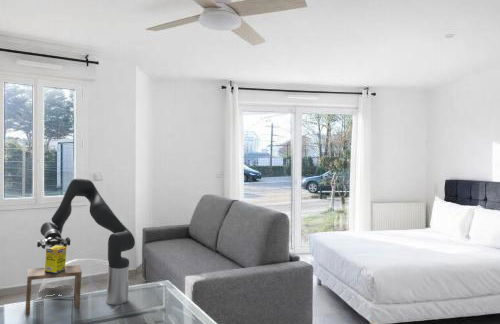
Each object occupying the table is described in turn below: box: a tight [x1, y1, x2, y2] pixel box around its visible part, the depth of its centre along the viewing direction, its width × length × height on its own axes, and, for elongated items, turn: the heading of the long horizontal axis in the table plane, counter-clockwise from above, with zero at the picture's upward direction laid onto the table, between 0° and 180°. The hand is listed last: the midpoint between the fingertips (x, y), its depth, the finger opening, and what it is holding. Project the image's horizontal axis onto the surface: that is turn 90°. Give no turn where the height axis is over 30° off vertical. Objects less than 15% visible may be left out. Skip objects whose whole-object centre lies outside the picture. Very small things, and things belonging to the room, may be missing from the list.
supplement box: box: [44, 245, 67, 274], centre depth 168 cm, size 6×6×11 cm
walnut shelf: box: [25, 264, 82, 316], centre depth 170 cm, size 21×10×16 cm, turn 120°
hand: (54, 246), depth 179 cm, fingers open, 8 cm apart
